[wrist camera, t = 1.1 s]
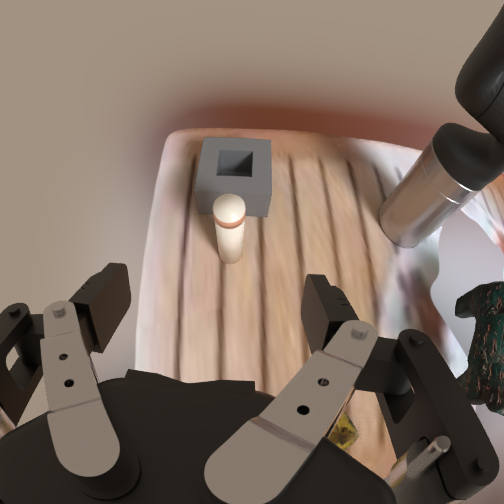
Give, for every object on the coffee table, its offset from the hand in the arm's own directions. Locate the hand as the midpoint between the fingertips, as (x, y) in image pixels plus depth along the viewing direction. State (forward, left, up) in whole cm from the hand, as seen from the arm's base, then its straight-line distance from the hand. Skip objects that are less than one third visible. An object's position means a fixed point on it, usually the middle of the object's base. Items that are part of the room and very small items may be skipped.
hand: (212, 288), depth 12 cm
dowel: (-6, -10, -24) cm, 27 cm away
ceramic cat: (-27, +23, -25) cm, 43 cm away
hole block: (-12, -19, -24) cm, 33 cm away
